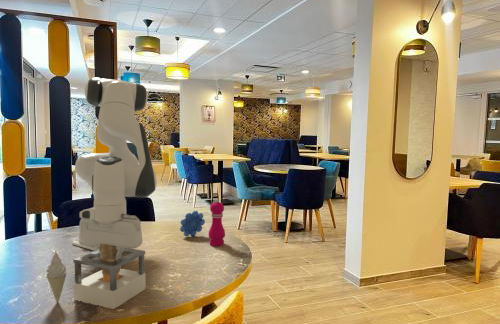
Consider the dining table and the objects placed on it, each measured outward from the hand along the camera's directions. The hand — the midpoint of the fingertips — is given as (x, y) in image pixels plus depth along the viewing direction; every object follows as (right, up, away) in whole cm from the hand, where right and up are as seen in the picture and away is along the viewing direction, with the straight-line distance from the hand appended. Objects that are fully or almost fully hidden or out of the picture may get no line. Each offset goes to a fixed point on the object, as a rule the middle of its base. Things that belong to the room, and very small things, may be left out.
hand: (111, 258), depth 107 cm
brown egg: (0, -9, +1) cm, 9 cm away
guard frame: (0, -6, +1) cm, 6 cm away
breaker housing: (0, -11, +1) cm, 11 cm away
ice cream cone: (-13, -11, -5) cm, 18 cm away
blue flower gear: (+14, -6, +63) cm, 64 cm away
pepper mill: (+27, -7, +51) cm, 58 cm away
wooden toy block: (0, -4, 0) cm, 4 cm away
